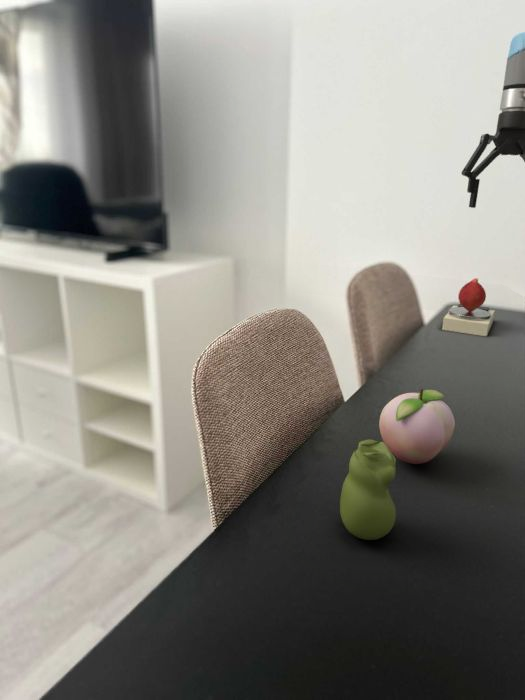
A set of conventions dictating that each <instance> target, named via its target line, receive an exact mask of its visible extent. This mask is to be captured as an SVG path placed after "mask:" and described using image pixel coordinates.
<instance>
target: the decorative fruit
mask: <svg viewBox="0 0 525 700" xmlns="http://www.w3.org/2000/svg"><path fill="white" fill-rule="evenodd" d="M443 399H446V397H445V395H444V394H443V393H441V392H439V391H438V390H434V389H425V390H424V389H423V388H420V389H419V392H406V393H403V394H400V395H397V396H395V397H394V398H393V399H391V400H390V401H388V403H387V404H386V405H385V406H384V407H383V408H382V410H381V413H380V416H379V422H378V423H379V424H378V427H379V432H380V436H381V439H382V442H384V443H385V445H386V446H387V448H388V449H389V450H390V452H391V453H392V455H393V456H394V457H395V458H397V459H398V460H400V461H402V462H404V463H408V464H411V465H421V464H424V463H428V462H429V461H432V460H433V459H434V458H435V457H436V456H437V455H438V454H439V453H440V452H441V451H443V450H444V449H445V448H446V446H447V445H448V444H449V442H450V440H451V438H452V436H453V434H454V431H455V427H456V421H455V417H454V414H453V412H452V410H451V408H450V407H449V406H448V405H447V403H445V402H444V401H443Z"/></svg>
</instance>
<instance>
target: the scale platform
mask: <svg viewBox="0 0 525 700" xmlns="http://www.w3.org/2000/svg"><path fill="white" fill-rule="evenodd" d="M448 312H449V314H450V315H451V316H454V317H457V318H461V319H466V320H487V319H490V317H491V313H489V312H488V311H485V310H482V309H475V310H474V311H472V312H469V311H467V310H466V309H465V308H464V307H454V308H452V307H449V309H448Z"/></svg>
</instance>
